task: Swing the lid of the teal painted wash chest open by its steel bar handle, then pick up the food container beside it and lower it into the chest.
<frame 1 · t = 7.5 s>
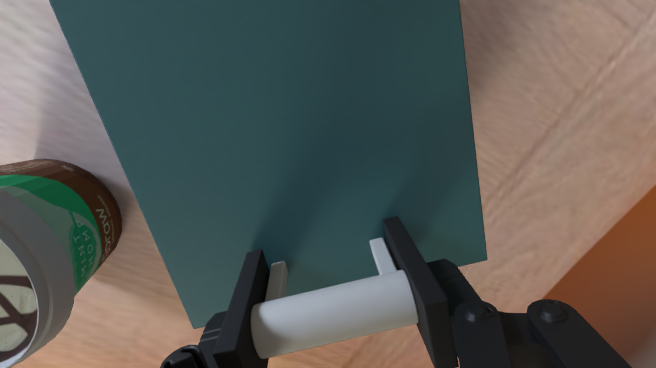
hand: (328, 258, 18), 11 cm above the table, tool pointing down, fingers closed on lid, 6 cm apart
food container: (96, 211, 28), on the table
lid: (292, 141, 14), point 13 cm above the table, hinge at -0.2°, touching gripper
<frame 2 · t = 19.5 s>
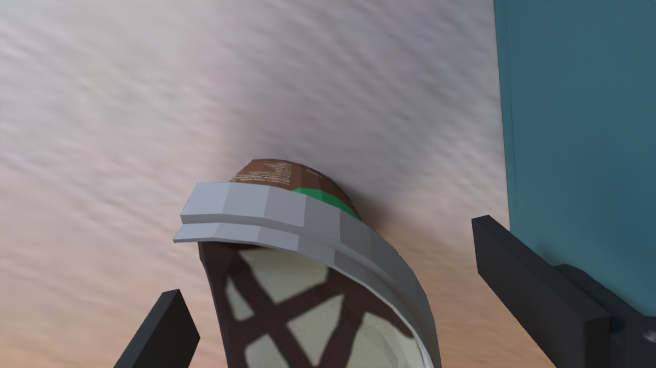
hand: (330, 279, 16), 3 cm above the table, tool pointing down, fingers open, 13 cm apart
food container: (326, 237, 19), on the table
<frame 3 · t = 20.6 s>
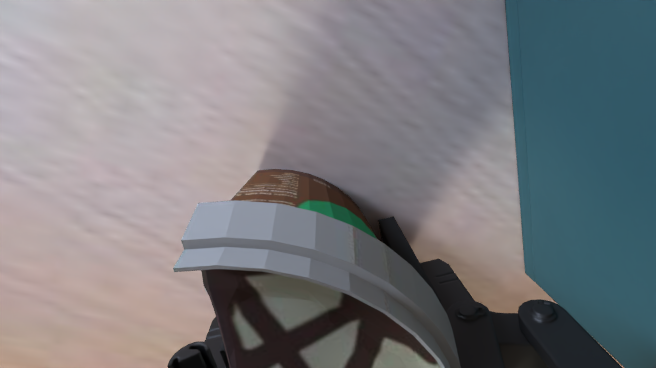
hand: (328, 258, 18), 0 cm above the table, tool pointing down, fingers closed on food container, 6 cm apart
food container: (336, 248, 18), on the table, touching gripper
when the fingers open (2 cm above the table, at t = 29.5 s): food container moves 2 cm, resting on chest.
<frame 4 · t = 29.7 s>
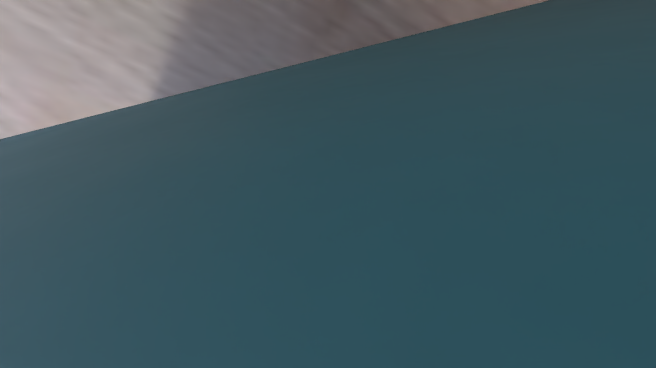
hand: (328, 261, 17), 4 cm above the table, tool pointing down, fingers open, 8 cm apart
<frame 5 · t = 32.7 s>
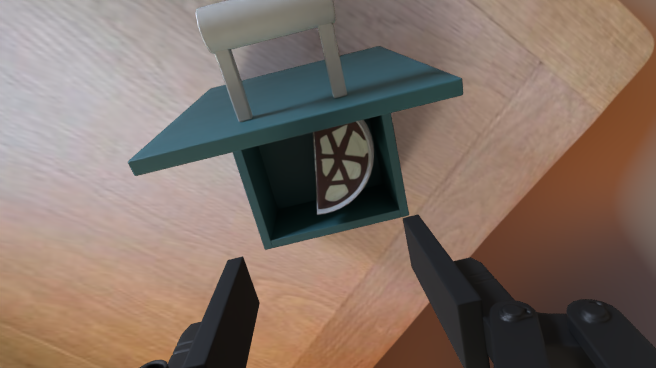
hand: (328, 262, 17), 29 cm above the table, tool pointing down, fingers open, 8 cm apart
food container: (338, 139, 44), point 1 cm above the table, touching chest
lid: (284, 49, 23), point 19 cm above the table, hinge at 82.1°
chest: (315, 139, 45), on the table
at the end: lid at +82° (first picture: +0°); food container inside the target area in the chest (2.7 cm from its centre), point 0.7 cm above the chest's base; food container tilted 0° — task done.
